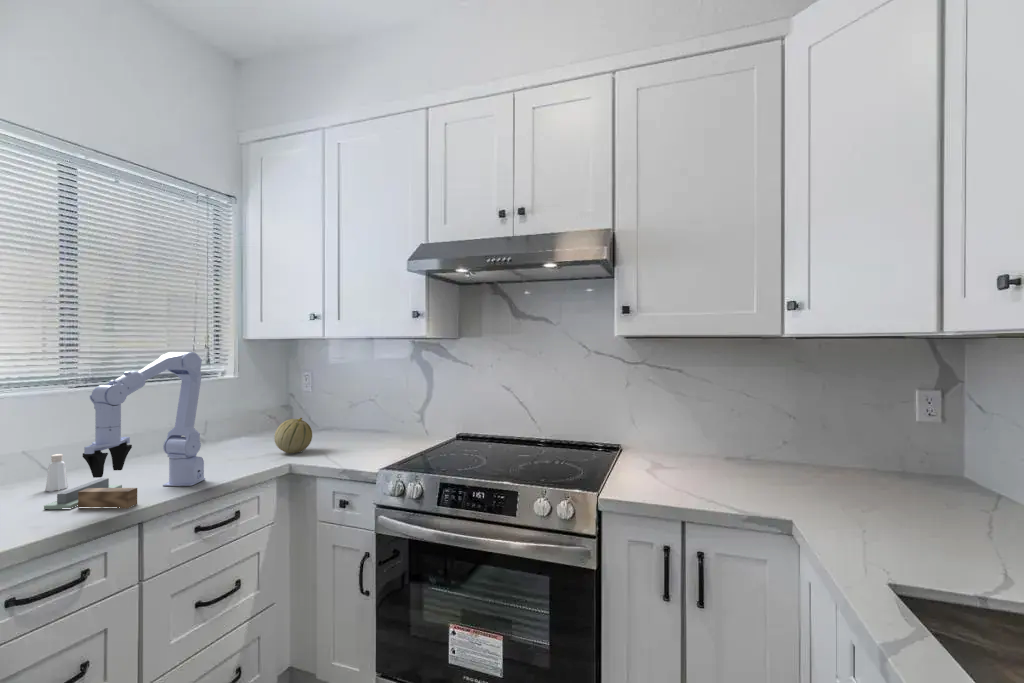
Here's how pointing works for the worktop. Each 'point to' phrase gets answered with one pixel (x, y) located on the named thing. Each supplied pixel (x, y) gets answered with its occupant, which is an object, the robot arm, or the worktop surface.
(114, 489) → the walnut bar
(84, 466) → the worktop surface
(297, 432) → the cantaloupe
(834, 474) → the worktop surface
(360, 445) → the worktop surface
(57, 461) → the pepper shaker
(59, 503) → the ridge stand
